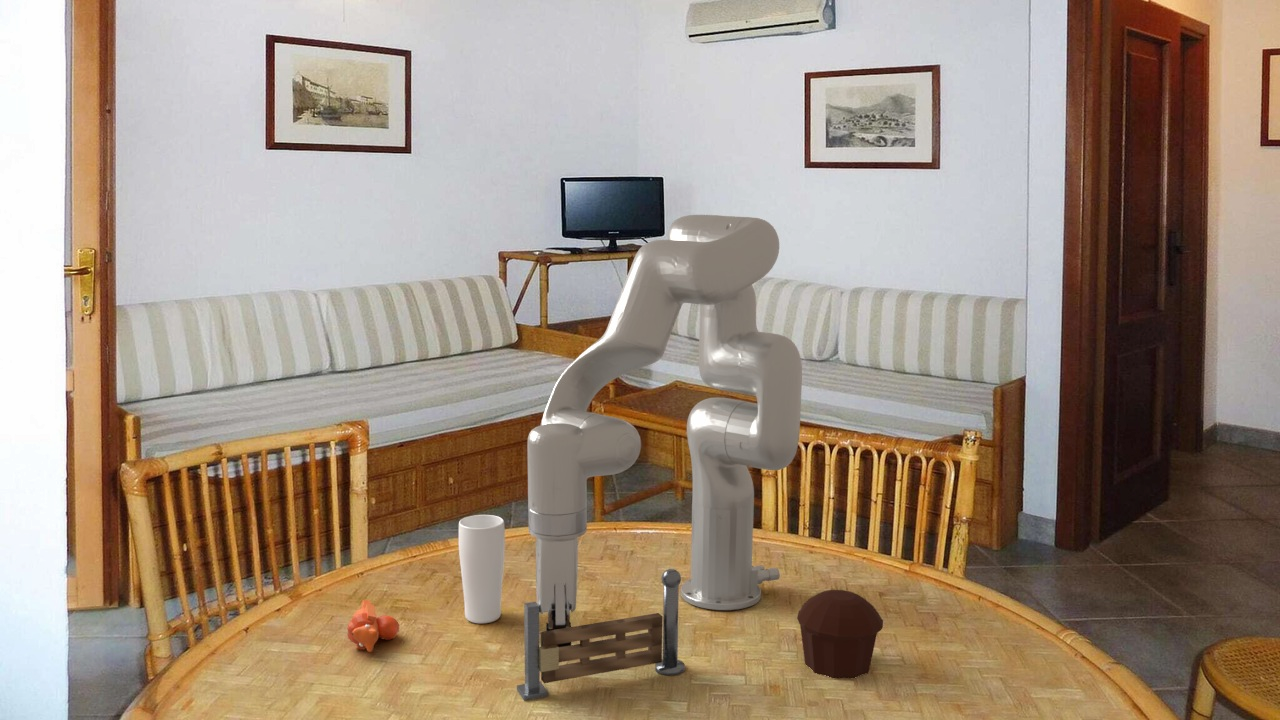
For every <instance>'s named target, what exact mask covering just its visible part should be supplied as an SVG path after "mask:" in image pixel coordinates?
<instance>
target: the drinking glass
mask: <svg viewBox="0 0 1280 720" xmlns="http://www.w3.org/2000/svg"><path fill="white" fill-rule="evenodd" d="M505 530H506V529H505V521H504V519H503V518H502V517H500V516H498V515H492V514H474V515H470V516H465V517H463V518H461V519H460V520H459V521H458V534H457V535H458V541H457V542H458V554H459V563H460V564H459V565H460V571H461V573H460V574H461V582H462V592H463V602H464V603H463V604H464V617H465V619H466V620H467V621H468V622H470V623H473V624H488V623H493V622H495V621H497V620H499V618H500V617H501V612H502V593H503V592H502V590H503V580H504V579H503V575H504V564H505V552H506V551H505V549H506V533H505V532H506V531H505Z"/></svg>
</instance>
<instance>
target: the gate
mask: <svg viewBox="0 0 1280 720" xmlns="http://www.w3.org/2000/svg"><path fill="white" fill-rule="evenodd" d="M645 630H646V631H648V632H643V633H636V634H635V633H634V634H630V635H626V634H629V633H632V632H639V631H645ZM609 636H615V637H612V638H607V639H602V640H594V641H591V639H598V638H604V637H609ZM569 642H571V643H574V642H579V643H577V644H571V645H570V646H564V647H559V663H562V662H563V663H564V662H569V661H575V660H579V661H578V662H572V663H566V664H559V669H557V670H551V671H545V672H540V680H541V682H543V684H549V683H555V682H560V681H564V680H565V681H566V680H571V679H577V678H581V677H587V676H588V677H589V676H593V675H598V674H599V675H600V674H604V673H610V672H615V671H621V670H627V669H631V668H637V667H643V666H647V665H655V663H661V662H662V659H663V614H662V615H661V614H660V613H659V612H656V613H651V614H643V615H638V616H632V617H625V618H619V619H618V618H617V619H612V620H606V621H600V622H595V623H594V622H593V623H589V624H587V623H586V624H581V625H576V626H571V627H568V628H562V629H556V630H550V631H546V630H545V631H541V632H540V647H545V646H551V645H557V644H563V643H569ZM644 648H647V649H646V650H641V651H635V652H629V653H626V652H627V651H633V650H639V649H644ZM610 654H614V655H612V656H606V657H600V658H595V659H591V658H592V657H598V656H603V655H610Z"/></svg>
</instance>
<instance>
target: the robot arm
mask: <svg viewBox="0 0 1280 720" xmlns="http://www.w3.org/2000/svg"><path fill="white" fill-rule="evenodd" d="M779 252H780V239H779V236H778V232H777V230H776V229H775V228H774V226H773V225H772V224H771V223H770V222H768V221H767V220H765V219H762V218H758V217H750V216H731V215H730V216H729V215H718V214H717V215H714V214H691V215H690V214H689V215H685V216H680V217H679V218H677V219H675V220H674V221H672V224H671V225H670V226H669V229H668V232H667V239H656V240H652V241H649V242H646V243H645V244H643V245H642V246H641V247H640V248H639V249H638V251H637V252H636V254H635V256H634V258H633V261H632V263H631V266H630V269H629V270H628V272H627V273H628V274H627V276H626V279H625V281H624V284H623V286H622V289H621V291H620V294H619V295H618V299H617V301H616V303H615V306H614V310H613V311H612V315H611V316H610V320H609V322H608V325H607V327H606V330H605V332H604V333H603V334H602V336H601V337H600V338H599V339H597V340H596V341H595V342H594V343H592V344H591V345H590V346H588V348H586V349H585V350H584V351H583V352H582V353H580V355H578V357H576V358H575V359H574V360H573V361H572V363H570V364H569V365H568V367H567V368H566V369H565V370H564V371H563V372H562V373H561V375H559V378H558V379H557V381H556V382H555V385H554V387H553V389H552V391H551V394H550V397H549V399H548V402H547V404H546V406H545V408H544V410H543V411H544V412H543V415H542V416H541V417H542V418H541V422H540V425H538V426H536V427H534V428H532V429H531V430H530V432H529V433H528V436H527V443H526V444H527V445H526V446H527V448H526V449H527V499H528V500H527V503H528V505H527V507H528V509H527V511H528V533H529V535H531V536H532V537H534V538H536V540H535V576H536V577H535V584H536V586H535V587H536V590H535V591H536V603H537V604H538V605H539V614H541V615H543V614H544V613H547V622H546V623H545V627H546V628H545V631H550V630H556V629H562V628H568V627H572V625H571V623H572V622H571V619H570V618H571V616H570V615H571V613H573V612H574V611H576V608H577V593H578V565H579V564H578V563H579V562H578V561H579V559H578V558H579V556H578V554H579V550H578V547H579V546H578V545H579V544H578V543H579V541H578V540H579V539H578V538H579V537H582V536H583V535H585V534H586V533H587V531H588V525H587V523H588V521H587V520H588V517H587V515H588V514H587V509H588V507H587V505H588V503H587V501H588V500H587V497H588V495H587V493H588V492H587V490H588V489H587V486H588V485H587V480H588V479H589V478H591V477H593V478H594V477H600V476H602V477H603V476H611V475H616V474H620V473H623V472H625V471H626V470H628V469H630V468H631V467H632V466H633V465H634V464H635V463H636V461H637V459H638V458H639V456H640V453H641V449H642V440H641V436H640V434H639V432H638V429H636V427H635V426H634V425H633V424H631V423H630V422H628V421H627V420H624V419H622V418H619V417H615V416H609V415H604V414H600V413H596V412H591V411H588V408H589V407H590V404H591V402H592V400H593V399H594V398H595V396H596V395H597V394H598V392H599V391H601V390H602V389H603V388H604V387H605V386H606V385H608V384H609V383H610V382H612V381H614V380H615V379H617V378H619V377H622V376H624V375H626V374H628V373H632V372H634V371H637V370H640V369H643V368H645V367H647V366H651V365H653V364H655V363H657V362H658V361H660V359H661V358H663V356H664V355H665V351H666V348H667V346H668V343H669V340H670V337H671V335H672V332H673V329H674V327H675V324H676V321H677V319H678V316H679V314H680V311H681V309H682V306H683V304H694V305H695V304H696V305H699V332H698V333H699V335H698V336H699V337H698V370H699V376H700V378H701V380H702V381H703V383H704V384H705V385H707V386H708V387H711V388H713V389H717V390H720V391H724V392H730V393H737V394H743V395H748V396H749V395H750V396H754V397H756V402H757V403H756V402H751V401H746V400H741V399H734V398H729V397H728V398H727V397H719V396H718V397H709V398H706V399H705V398H704V399H703V400H701V401H699V402H697V403H696V404H695V405H694V406H693V407H692V409H691V410H690V412H689V415H688V417H687V420H686V422H687V423H686V436H687V443H688V448H689V454H690V461H691V462H690V463H691V470H692V471H691V473H692V495H691V496H692V500H691V503H692V504H691V547H690V548H691V549H690V550H691V552H690V553H691V555H690V558H691V559H690V578H689V579H688V580H685V581H684V582H683V583H682V585H681V586H680V596H681V598H682V599H683V600H684V602H686V603H688V604H691V605H693V606H695V607H698V608H702V609H707V610H711V611H712V610H714V611H735V610H741V609H746V608H749V607H752V606H754V605H756V604H757V603H758V602H760V600H761V598H762V589H761V587H760V586H759V585H762V584H763V582H773V581H778V580H779V579H780V577H781V575H780V570H779V568H777V567H773V568H766V569H765V566H764V565H762V564H761V565H755V566H753V545H754V544H753V539H754V507H755V505H754V504H755V503H754V502H755V488H754V483H753V479H752V476H751V473H750V470H749V469H748V467H750V468H755V469H760V470H764V471H765V470H766V471H780V470H783V469H785V468H787V467H788V466H789V465H790V464H791V463H792V461H793V460H794V459H795V457H796V454H797V451H798V447H799V442H800V441H799V440H800V429H801V427H800V426H801V411H802V410H801V409H802V406H801V405H802V385H803V383H802V381H803V364H802V363H803V362H802V359H801V355H800V351H799V349H798V347H797V346H796V344H795V342H794V341H792V340H791V339H790V338H789V337H787V336H785V335H782V334H778V333H773V332H765V331H759V330H758V328H757V296H756V292H755V289H754V286H753V285H754V284H756V283H757V282H759V281H760V280H761V279H762V278H764V277H766V275H768V274H769V273H770V271H771V270H772V269H773V268H774V266H775V264H776V262H777V259H778V258H779ZM570 645H572V642H569V643H563V644H557V646H558V647H564V646H570Z"/></svg>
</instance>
